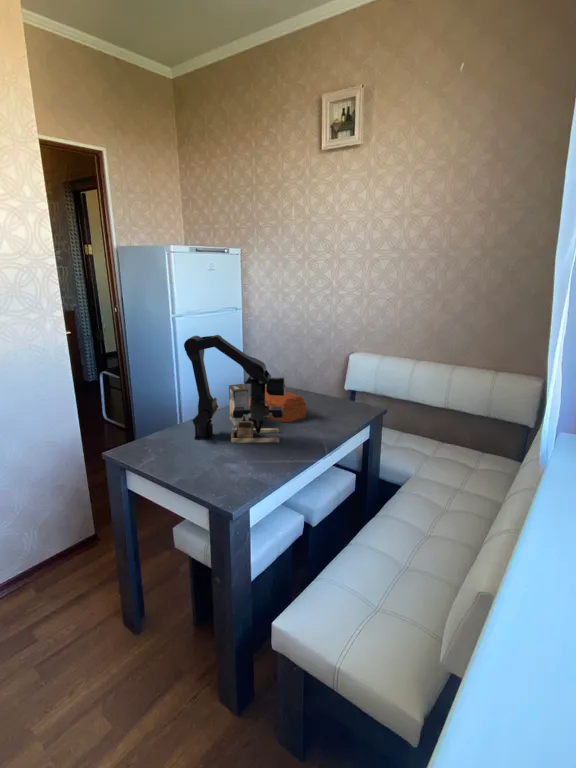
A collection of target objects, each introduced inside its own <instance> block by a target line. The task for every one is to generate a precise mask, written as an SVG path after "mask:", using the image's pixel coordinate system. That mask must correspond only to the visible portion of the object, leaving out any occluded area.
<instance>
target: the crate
mask: <svg viewBox="0 0 576 768" xmlns="http://www.w3.org/2000/svg"><path fill="white" fill-rule="evenodd" d="M236 429H237V433H236V438H254V433H253V429H254V423H253V422H252V421H249V422H238V424H237V426H236Z"/></svg>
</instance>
